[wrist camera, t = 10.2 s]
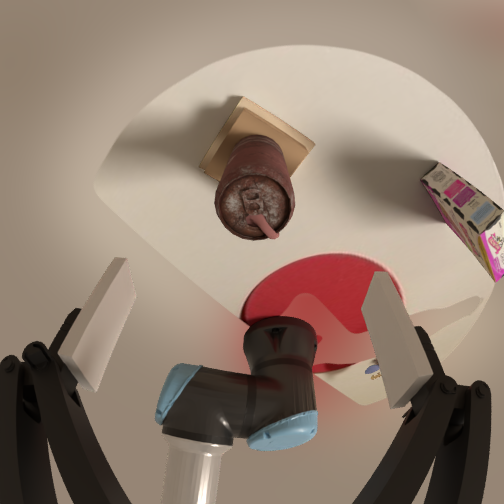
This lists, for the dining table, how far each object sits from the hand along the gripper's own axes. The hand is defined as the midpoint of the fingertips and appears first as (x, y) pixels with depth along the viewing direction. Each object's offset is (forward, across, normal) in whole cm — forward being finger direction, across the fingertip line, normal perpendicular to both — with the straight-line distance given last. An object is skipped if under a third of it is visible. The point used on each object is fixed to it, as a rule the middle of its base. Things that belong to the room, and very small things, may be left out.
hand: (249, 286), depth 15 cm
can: (+22, 0, -1) cm, 22 cm away
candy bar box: (+27, -31, +2) cm, 41 cm away
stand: (+27, 0, 0) cm, 27 cm away
